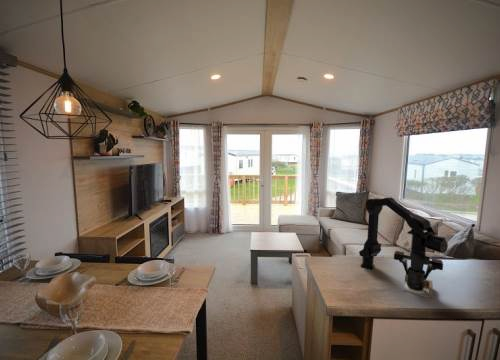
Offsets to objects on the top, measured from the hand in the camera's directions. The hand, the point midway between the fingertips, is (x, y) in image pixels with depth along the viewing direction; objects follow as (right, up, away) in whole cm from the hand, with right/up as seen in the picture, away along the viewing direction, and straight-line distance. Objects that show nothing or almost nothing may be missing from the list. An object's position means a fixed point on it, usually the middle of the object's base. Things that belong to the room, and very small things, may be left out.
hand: (415, 277), depth 114 cm
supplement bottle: (0, -5, +1) cm, 5 cm away
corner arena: (+1, -6, +1) cm, 6 cm away
